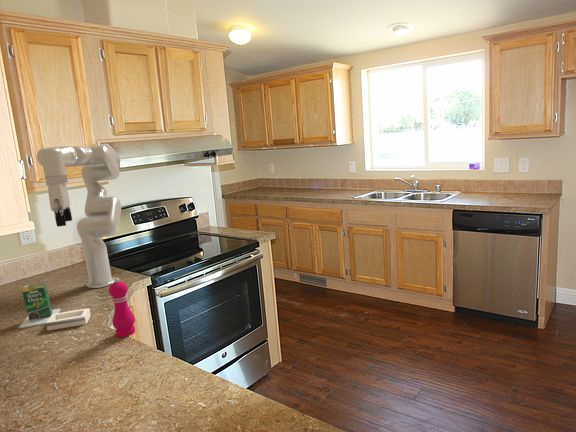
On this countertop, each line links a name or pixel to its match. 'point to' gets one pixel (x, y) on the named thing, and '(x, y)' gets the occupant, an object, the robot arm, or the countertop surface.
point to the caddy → (68, 319)
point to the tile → (37, 320)
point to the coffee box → (37, 301)
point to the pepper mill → (121, 309)
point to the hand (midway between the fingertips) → (64, 223)
